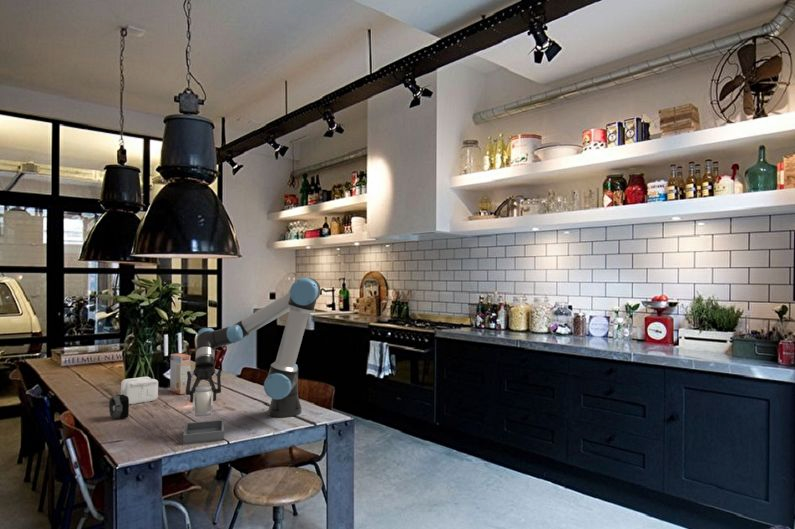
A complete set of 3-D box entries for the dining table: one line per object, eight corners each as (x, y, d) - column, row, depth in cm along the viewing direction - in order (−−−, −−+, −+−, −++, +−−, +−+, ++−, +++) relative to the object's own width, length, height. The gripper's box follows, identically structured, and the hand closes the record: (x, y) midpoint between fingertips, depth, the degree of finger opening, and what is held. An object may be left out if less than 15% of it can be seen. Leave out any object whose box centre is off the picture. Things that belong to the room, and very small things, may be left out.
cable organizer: (151, 397, 262) (152, 375, 262) (158, 401, 254) (158, 378, 254) (120, 402, 252) (120, 379, 252) (126, 406, 244) (126, 382, 244)
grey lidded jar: (211, 411, 201) (211, 384, 201) (210, 415, 195) (211, 387, 196) (195, 413, 199) (195, 385, 199) (194, 417, 193) (195, 388, 194)
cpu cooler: (108, 417, 225) (108, 394, 225) (122, 414, 229) (122, 392, 229) (115, 421, 217) (116, 398, 218) (129, 418, 222) (130, 396, 222)
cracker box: (190, 393, 271) (191, 355, 272) (179, 395, 267) (180, 356, 267) (180, 389, 281) (180, 352, 281) (169, 391, 277) (170, 353, 277)
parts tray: (223, 428, 207) (223, 419, 207) (223, 440, 192) (223, 431, 192) (186, 431, 202) (186, 423, 203) (183, 444, 187) (183, 435, 187)
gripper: (228, 364, 215) (227, 411, 200) (181, 366, 209) (177, 415, 193) (228, 353, 211) (228, 401, 195) (180, 355, 204) (176, 405, 188)
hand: (202, 408), depth 194 cm, fingers closed on grey lidded jar, 6 cm apart
